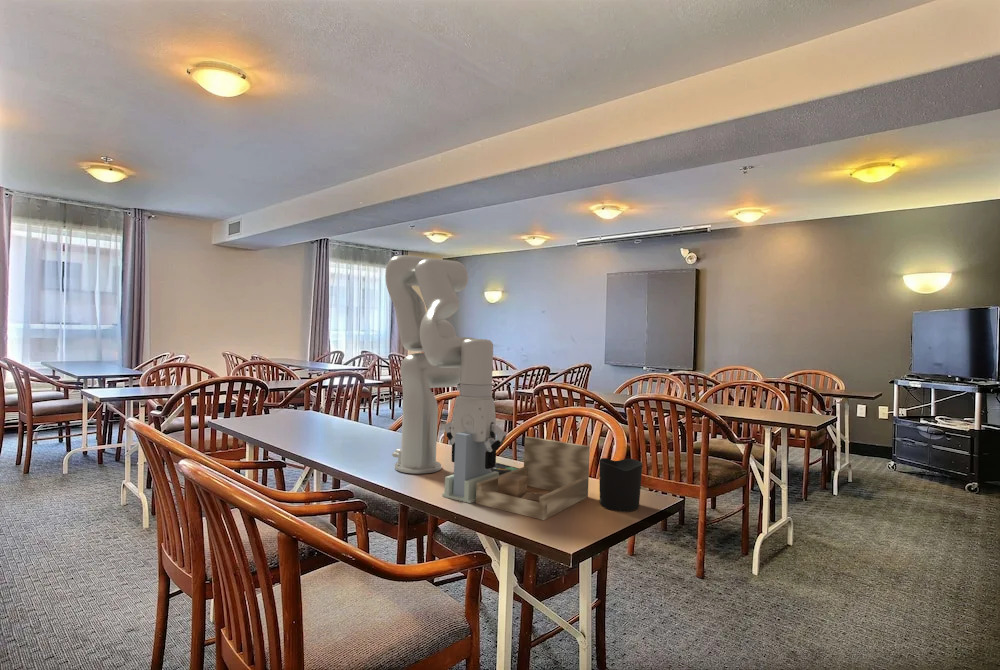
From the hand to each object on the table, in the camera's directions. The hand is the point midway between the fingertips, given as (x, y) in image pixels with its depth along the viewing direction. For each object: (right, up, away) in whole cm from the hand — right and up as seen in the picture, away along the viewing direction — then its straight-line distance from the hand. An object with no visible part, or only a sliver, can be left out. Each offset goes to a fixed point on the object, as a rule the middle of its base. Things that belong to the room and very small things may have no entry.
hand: (473, 464), depth 130 cm
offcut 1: (+9, -4, -6) cm, 12 cm away
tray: (+14, -7, -3) cm, 16 cm away
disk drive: (+6, -8, +16) cm, 19 cm away
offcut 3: (+14, -8, -10) cm, 18 cm away
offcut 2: (+9, -7, -6) cm, 13 cm away
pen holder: (+33, -8, -5) cm, 35 cm away
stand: (0, -7, 0) cm, 7 cm away
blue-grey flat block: (0, -6, 0) cm, 6 cm away
